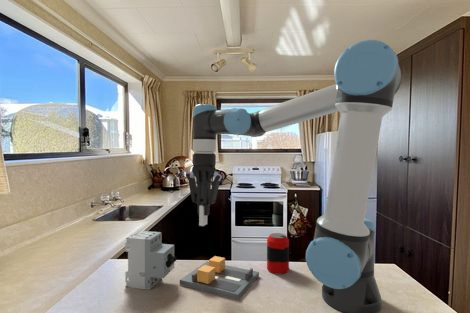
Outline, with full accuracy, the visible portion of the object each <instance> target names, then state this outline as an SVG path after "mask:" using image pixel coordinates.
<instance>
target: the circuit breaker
mask: <svg viewBox="0 0 470 313" xmlns="http://www.w3.org/2000/svg"><path fill="white" fill-rule="evenodd" d="M162 234H163V233H162V231H161V232H160V231H145V230H142V231H141V230H139V231H137V232H135V233H133V234H131V235H129V236H127V237H125V239H126V242H125V244H124V246H125V247H124V249H125V250H124V251H125V252H126V253H127V270H126V271H125V272H124V273H125V274H124V275H125V288H127V287H129V288H133V289H142V290H143V289H144V290H151V289H152V288H153V287H154V286H155V285H156V284H157V283H158V282H159V281H160V280H161V279H164V278H165V277H166V276H167V275H168V274H169V273H171V271H173V270H174V269H175V262H177V256H175V244H168V243H163V242H162V240H163V238H162Z"/></svg>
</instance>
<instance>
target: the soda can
mask: <svg viewBox="0 0 470 313" xmlns="http://www.w3.org/2000/svg"><path fill="white" fill-rule="evenodd" d="M266 269H267V270H268V272H269V273H272V274H274V275H275V274H276V275H283V274H286V273H288V272H289V271H290V239H289V238H288V237H287V234H285V233H281V232H274V233H270V234H269V236H268V237H267V239H266Z"/></svg>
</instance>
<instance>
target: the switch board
mask: <svg viewBox="0 0 470 313" xmlns="http://www.w3.org/2000/svg"><path fill="white" fill-rule="evenodd" d="M204 265H207V266H209V260H208V261H205V262H204V263H203V264H201V265H199V266H198V267H196V268H195V269H194V270H192V271H191V272H189V273H188V274H187V275H185V276H183V277H181V278H180V279H179V285H180V286H184V287H187V288H192V289H195V290H199V291H202V292H206V293H211V294H213V295H218V296H220V297H226V298H229V299H232V300H237V301H239V299H241V297H242V296H243V295H244V294H245V293H246V291H248V289H250V287H251V286H253V284H254V283H255V282H256V280H257V279H258V278H259V277H260V273H259V271H255V270H254V268H249V269H245V268H243V267H236V266H232V265H226V264H225V269H224V270H222V271H221V272H220V273H217V272H215V279H214V280H213V281H212V282H210V283H209V284H206V283H202V282H198V281H197V270H198V269H199V268H201V267H202V266H204Z"/></svg>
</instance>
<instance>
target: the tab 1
mask: <svg viewBox="0 0 470 313" xmlns="http://www.w3.org/2000/svg"><path fill="white" fill-rule="evenodd" d="M214 279H215V267H211V266H207V265H204V266H202V267H201V268H199V269H198V270H197V281H198V282H202V283H206V284H209V283H210V282H212V281H213V280H214Z"/></svg>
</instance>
